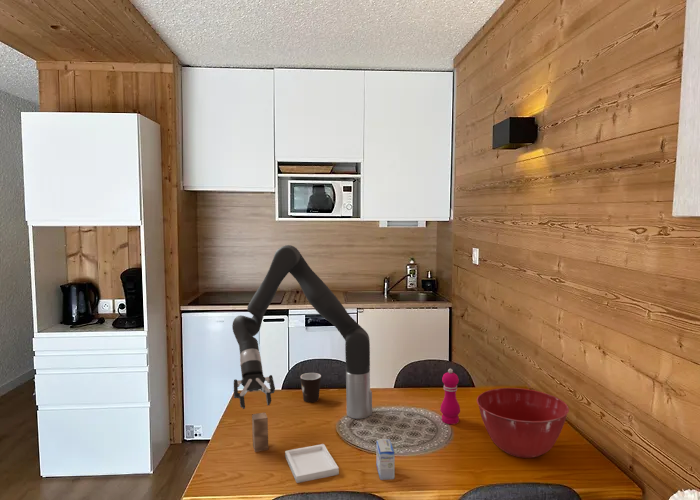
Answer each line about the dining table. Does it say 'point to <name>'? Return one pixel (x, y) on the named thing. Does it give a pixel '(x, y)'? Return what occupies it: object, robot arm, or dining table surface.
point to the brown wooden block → (260, 431)
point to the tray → (311, 463)
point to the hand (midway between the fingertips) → (256, 406)
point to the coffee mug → (310, 386)
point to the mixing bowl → (522, 420)
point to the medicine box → (385, 459)
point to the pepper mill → (450, 398)
